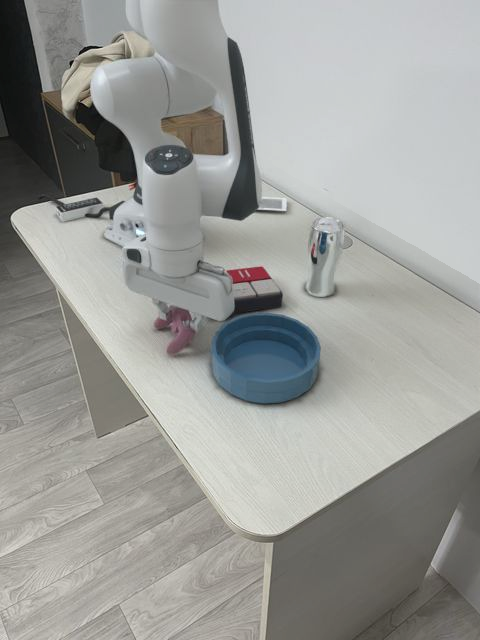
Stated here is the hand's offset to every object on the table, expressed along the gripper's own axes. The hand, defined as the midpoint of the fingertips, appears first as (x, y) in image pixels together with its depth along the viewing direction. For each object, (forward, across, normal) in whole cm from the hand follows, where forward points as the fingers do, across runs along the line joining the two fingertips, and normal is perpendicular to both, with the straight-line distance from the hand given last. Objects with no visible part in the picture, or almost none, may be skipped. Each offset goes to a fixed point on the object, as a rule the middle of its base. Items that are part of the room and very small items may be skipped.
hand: (180, 323), depth 95 cm
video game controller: (+5, +2, -1) cm, 5 cm away
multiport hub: (+4, +51, -31) cm, 60 cm away
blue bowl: (+5, -16, -2) cm, 17 cm away
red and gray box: (+5, -2, -18) cm, 19 cm away
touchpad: (+4, +15, -58) cm, 60 cm away
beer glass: (+5, -15, -30) cm, 34 cm away
